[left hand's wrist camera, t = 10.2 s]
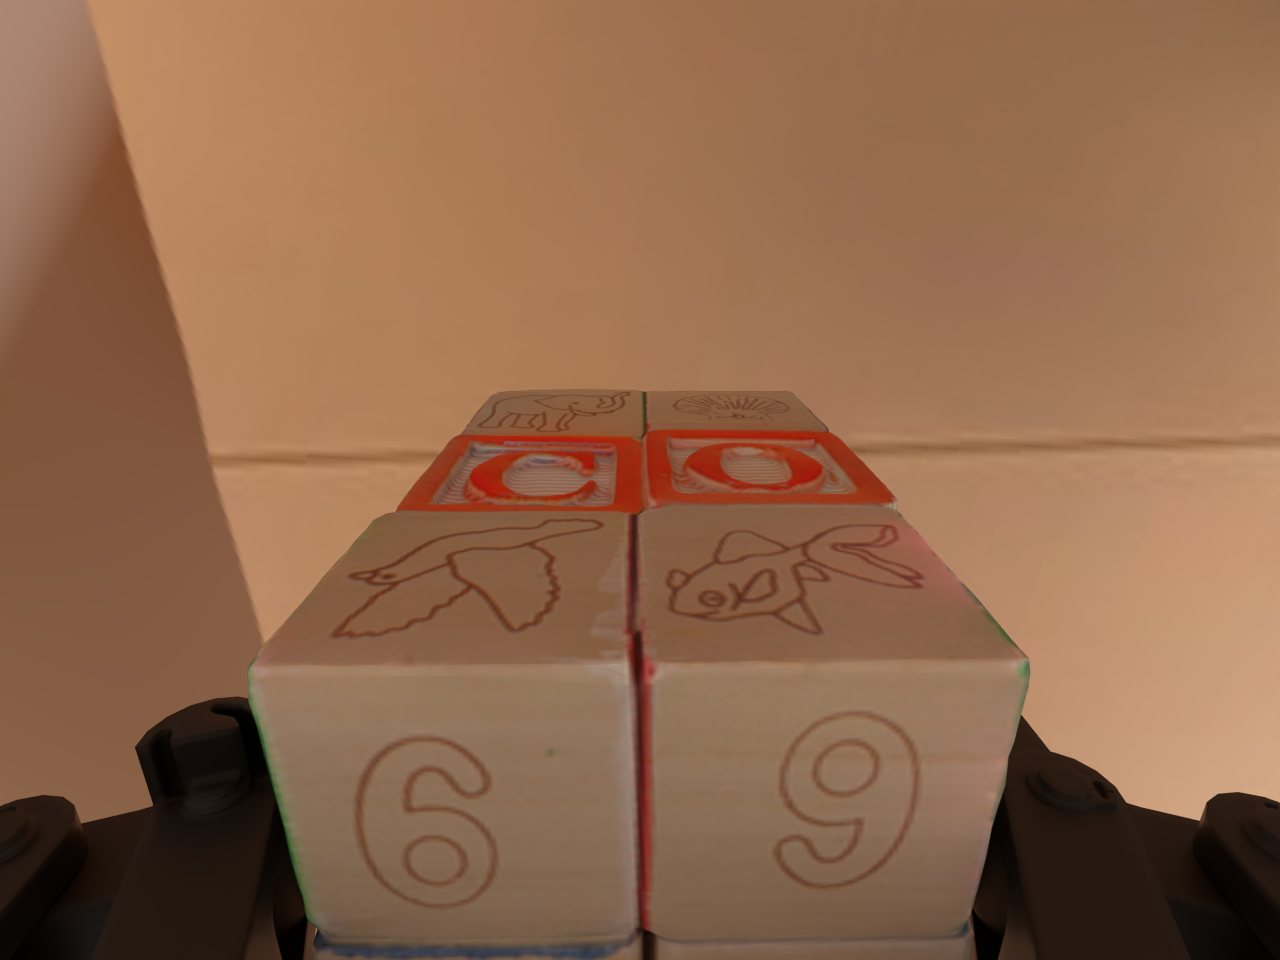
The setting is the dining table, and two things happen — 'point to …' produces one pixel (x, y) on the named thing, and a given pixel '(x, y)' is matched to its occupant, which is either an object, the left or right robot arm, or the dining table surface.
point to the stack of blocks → (640, 700)
